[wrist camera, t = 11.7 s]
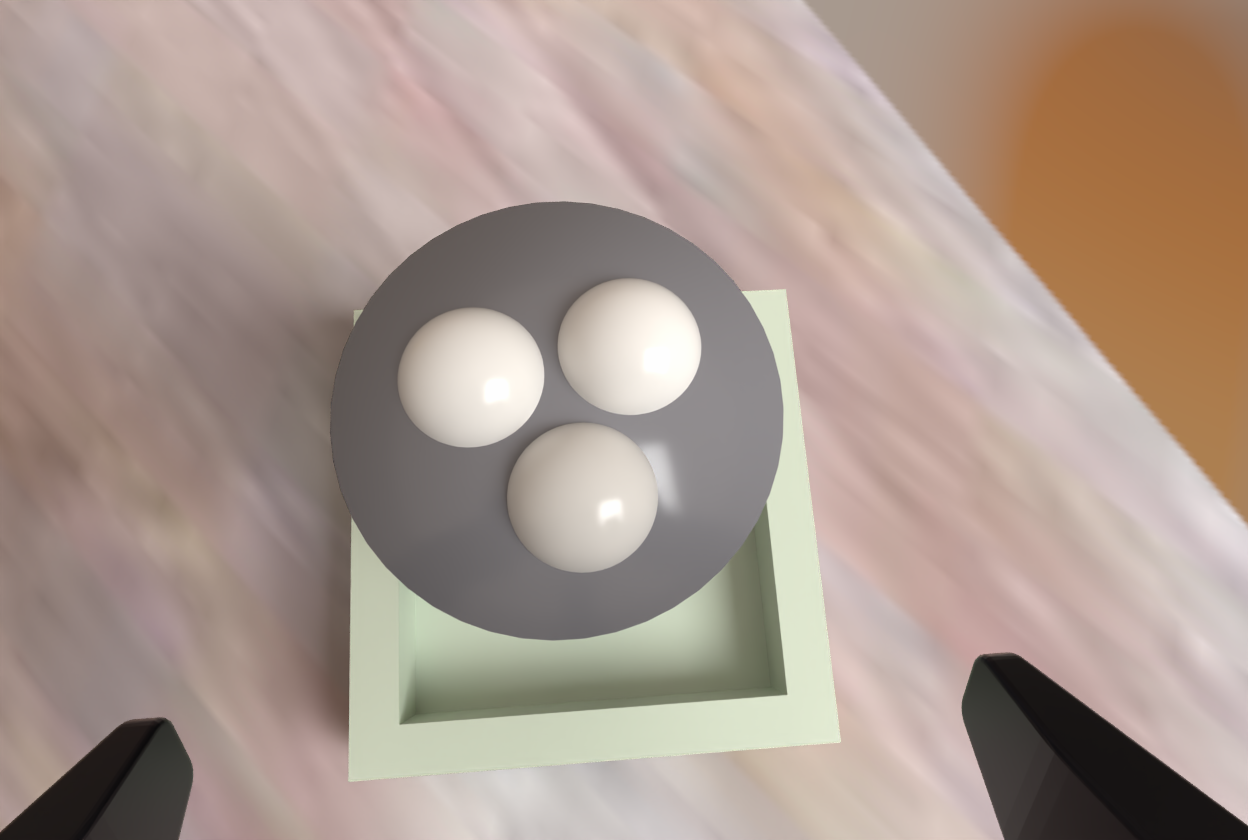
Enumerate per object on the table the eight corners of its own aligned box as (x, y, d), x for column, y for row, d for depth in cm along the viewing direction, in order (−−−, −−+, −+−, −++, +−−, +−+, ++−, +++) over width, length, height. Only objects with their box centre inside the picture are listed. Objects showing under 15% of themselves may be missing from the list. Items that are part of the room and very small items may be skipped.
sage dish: (813, 726, 22) (840, 742, 19) (376, 760, 21) (348, 781, 19) (766, 320, 24) (785, 289, 22) (378, 340, 24) (353, 310, 21)
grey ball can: (713, 544, 22) (895, 439, 8) (565, 660, 21) (496, 755, 8) (603, 402, 23) (604, 96, 9) (457, 508, 22) (219, 345, 8)
